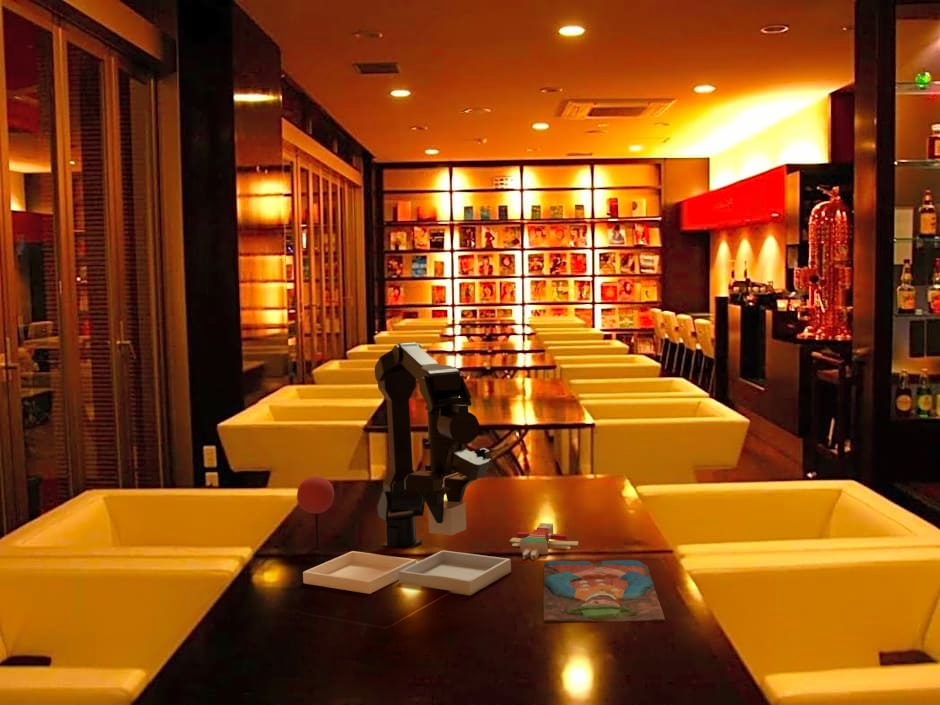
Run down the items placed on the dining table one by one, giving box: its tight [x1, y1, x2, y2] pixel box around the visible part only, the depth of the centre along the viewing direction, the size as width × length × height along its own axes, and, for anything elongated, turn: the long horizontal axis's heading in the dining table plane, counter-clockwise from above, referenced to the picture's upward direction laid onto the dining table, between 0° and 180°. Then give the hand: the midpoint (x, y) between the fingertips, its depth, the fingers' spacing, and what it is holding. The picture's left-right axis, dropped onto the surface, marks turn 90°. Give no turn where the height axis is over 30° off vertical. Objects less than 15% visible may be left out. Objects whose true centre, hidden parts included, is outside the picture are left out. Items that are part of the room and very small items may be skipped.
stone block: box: [427, 500, 467, 536], centre depth 189 cm, size 5×5×5 cm
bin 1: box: [302, 550, 417, 595], centre depth 192 cm, size 15×15×2 cm
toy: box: [509, 522, 579, 561], centre depth 207 cm, size 15×4×15 cm
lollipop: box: [296, 476, 335, 548], centre depth 215 cm, size 8×8×15 cm
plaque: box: [542, 559, 666, 624], centre depth 179 cm, size 20×2×30 cm
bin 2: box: [398, 550, 512, 596], centre depth 190 cm, size 15×15×2 cm
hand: (447, 519), depth 189 cm, fingers closed on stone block, 5 cm apart
